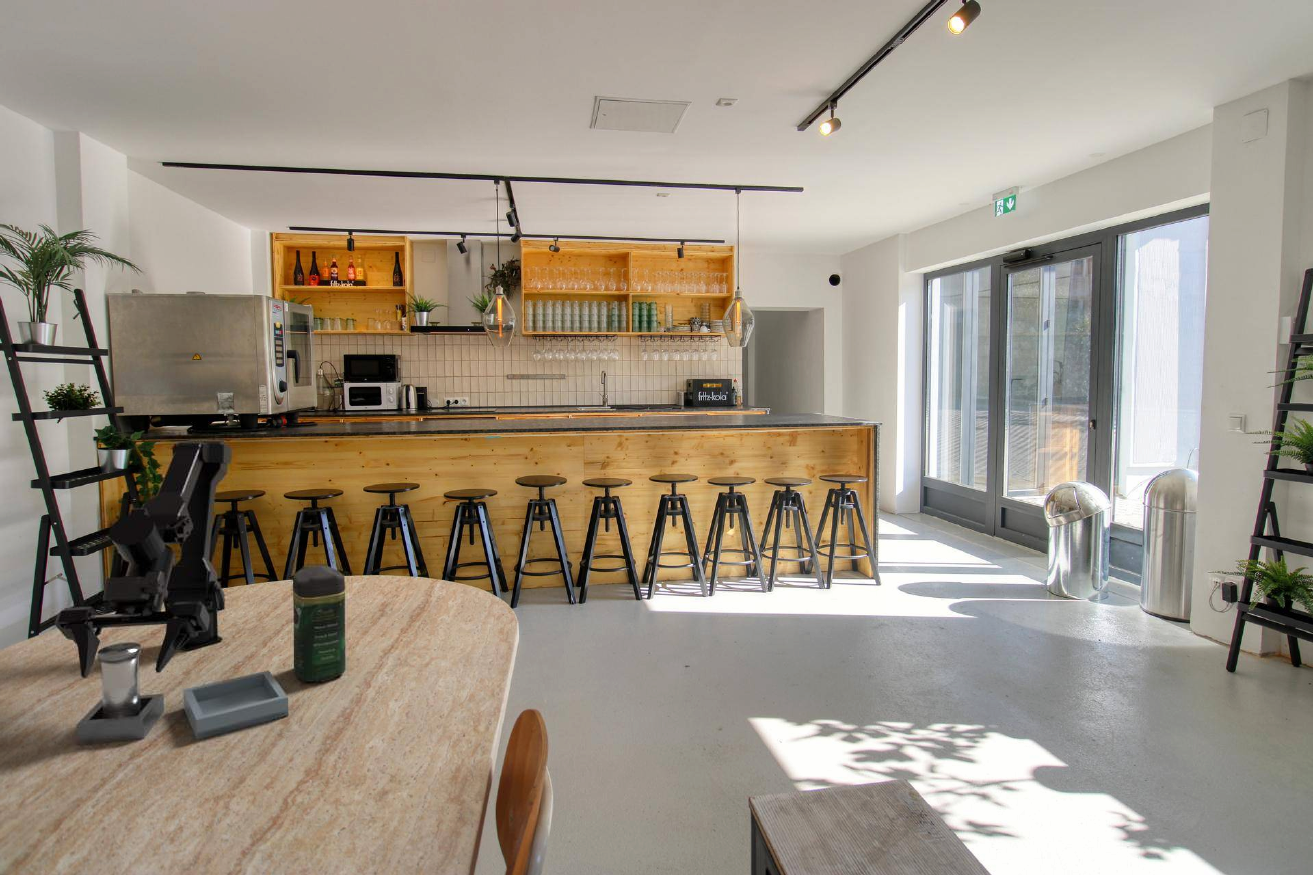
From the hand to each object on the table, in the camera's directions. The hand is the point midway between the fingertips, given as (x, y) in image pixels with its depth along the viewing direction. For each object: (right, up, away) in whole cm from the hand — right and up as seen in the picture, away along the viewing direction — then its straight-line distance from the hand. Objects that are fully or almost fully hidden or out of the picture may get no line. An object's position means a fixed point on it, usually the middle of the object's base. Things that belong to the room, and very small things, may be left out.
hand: (121, 674), depth 107 cm
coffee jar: (+19, -7, +21) cm, 30 cm away
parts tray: (+13, -8, +6) cm, 17 cm away
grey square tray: (0, -8, +1) cm, 8 cm away
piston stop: (0, -8, +1) cm, 8 cm away
